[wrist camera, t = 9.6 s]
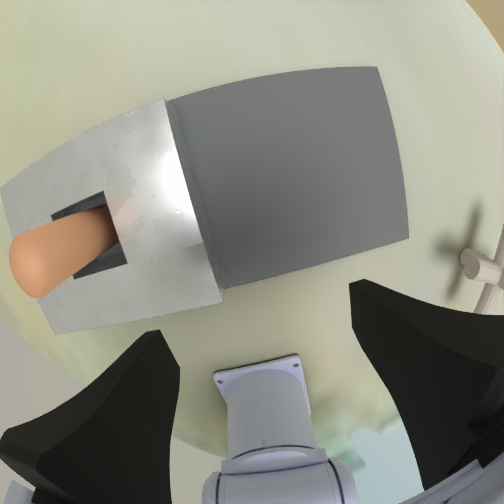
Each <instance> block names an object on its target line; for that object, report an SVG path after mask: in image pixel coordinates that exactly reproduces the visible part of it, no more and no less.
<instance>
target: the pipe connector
mask: <svg viewBox="0 0 504 504" xmlns="http://www.w3.org/2000/svg"><path fill="white" fill-rule="evenodd" d="M460 263H461V264H462V265H464V266H465V267H464V272H465V275H466V277H467V278H468V279H472V280H477V281H481V282H486V283H485V286H484V288H483V291H482V293H481V296H480V298H479V301H478V303H477V305H476V308H475V310H474V312H473V313H477V314H485V315H490V314H491V312H492V309H493V307H494V305H495V303H496V300H497V298H498V295H499V293H500V290H501V288H502V289H503V290H504V225H503V229H502V233H501V237H500V240H499V244H498V247H497V251H496V254H495V257H494V260H491V259H489V258H487V257H485V256H483V255H482V254H480V253H478V252H476V251H474V250H472V249H470V248H465V249H463V251H462V252H461V255H460Z"/></svg>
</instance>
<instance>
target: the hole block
mask: <svg viewBox="0 0 504 504" xmlns="http://www.w3.org/2000/svg"><path fill="white" fill-rule="evenodd" d="M0 192H1V197H2V201H3V205H4V209H5V213H6V217H7V220H8V224H9V227H10V231H11V234H12V237H13V240H14V238H15V237H16V236H18V235H20V234H22V233H25V232H27V231H29V230H32V229H34V228H37V227H40V226H42V225H45V224H47V223H50V222H53V221H55V220H58V219H61V218H64V217H66V216H69V215H72V214H75V213H78V212H81V211H82V208H81V204H83V203H85V202H87V201H90V200H92V199H94V198H97V197H99V196H101V195H104V194H105V197H106V201H107V204H108V207H109V210H110V214H111V217H112V220H113V223H114V226H115V229H116V232H117V235H118V238H119V240H120V243H121V246H122V249H123V251H124V252H121V253H117V254H114V255H111V256H108V257H105V258H102V259H99V257H97V258H95V259H94V260H93V261H91V262H90V263H88V264H87V265H86V266H84V267H83V268H81V269H80V270H79V271H77V272H76V273H75V274H73V275H72V276H71V277H69V278H68V279H67V280H65V281H64V282H63V283H61V284H60V285H59V286H57V287H56V288H55V289H54V290H52V291H51V292H50V293H49V294H47V295H46V296H45V297H43V298H37V300H38V302H39V304H40V306H41V309H42V311H43V312H44V314H45V316H46V318H47V320H48V322H49V324H50V326H51V328H52V329H53V331H54V333H55V335H57V334H64V333H70V332H76V331H82V330H88V329H94V328H100V327H105V326H111V325H116V324H122V323H127V322H132V321H138V320H143V319H148V318H153V317H157V316H162V315H167V314H172V313H177V312H181V311H186V310H190V309H195V308H199V307H204V306H208V305H212V304H217V303H221V302H223V294H224V282H225V274H224V270H223V267H222V264H221V261H220V258H219V254H218V251H217V248H216V244H215V241H214V238H213V234H212V231H211V228H210V224H209V221H208V218H207V214H206V211H205V207H204V204H203V200H202V197H201V193H200V190H199V186H198V183H197V179H196V175H195V172H194V168H193V165H192V161H191V157H190V153H189V150H188V146H187V142H186V138H185V135H184V131H183V127H182V123H181V119H180V115H179V111H177V110H176V109H175V108H174V107H173V106H172V105H171V104H170V103H168V102H167V101H166V100H165V99H164V98H163V99H160V100H157V101H154V102H152V103H149V104H147V105H144V106H141V107H139V108H137V109H134V110H132V111H129V112H127V113H125V114H122V115H120V116H118V117H116V118H114V119H111V120H109V121H107V122H105V123H103V124H101V125H99V126H97V127H95V128H93V129H91V130H89V131H87V132H85V133H83V134H81V135H80V136H78V137H76V138H74V139H72V140H71V141H69V142H67V143H65V144H64V145H62V146H60V147H59V148H57V149H55V150H54V151H52V152H50V153H49V154H47V155H46V156H44V157H42V158H41V159H39V160H38V161H36V162H35V163H33V164H32V165H31V166H29V167H28V168H26V169H25V170H23V171H22V172H21V173H19V174H18V175H17V176H15V177H14V178H12V179H11V180H10V181H9V182H7V183H6V184H5V185H3V186H2V187H1V188H0Z"/></svg>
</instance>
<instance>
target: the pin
mask: <svg viewBox="0 0 504 504" xmlns="http://www.w3.org/2000/svg"><path fill="white" fill-rule="evenodd" d="M119 242H120V240H119V238H118V235H117V232H116V229H115V226H114V223H113V220H112V217H111V214H110V210H109V207H108V204H107V203H106V204H102V205H99V206H96V207H93V208H90V209H87V210H84V211H81V212H78V213H75V214H72V215H69V216H66V217H64V218H61V219H58V220H55V221H53V222H50V223H47V224H45V225H42V226H40V227H37V228H34V229H32V230H29V231H27V232H25V233H22V234H20V235H18V236H16V237H15V238H14V240H13V241H12V243H11V246H10V251H9V260H10V267H11V270H12V273H13V276H14V278H15V280H16V282H17V283H18V285H19V286H20V288H21V289H22V290H23V291H24V292H25V293H26V294H28V295H29V296H31V297H34V298H43V297H45V296H46V295H47V294H49V293H50V292H51V291H52V290H54V289H55V288H56V287H57V286H59V285H60V284H61V283H63V282H64V281H65V280H67V279H68V278H69V277H71V276H72V275H73V274H75V273H76V272H77V271H79V270H80V269H81V268H83V267H84V266H86V265H87V264H88V263H90V262H91V261H93V260H94V259H95V258H97V257H98V256H100V255H101V254H102V253H104V252H105V251H107V250H108V249H110V248H111V247H113V246H114V245H116V244H117V243H119Z"/></svg>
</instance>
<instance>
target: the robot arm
mask: <svg viewBox="0 0 504 504" xmlns="http://www.w3.org/2000/svg"><path fill="white" fill-rule="evenodd" d="M349 291H350V303H351V318H352V328H353V331H354V333H355V335H356V337H357V339H358V341H359V344H360V346H361V348H362V349H363V351H364V353H365V354H366V356H367V357H368V359H369V360H370V362H371V364H372V365H373V367H374V368H375V370H376V371H377V373H378V375H379V376H380V378H381V379H382V381H383V382H384V384H385V386H386V387H387V389H388V391H389V392H390V394H391V396H392V398H393V400H394V402H395V405H396V407H397V409H398V411H399V414H400V416H401V418H402V421H403V423H404V426H405V428H406V431H407V434H408V436H409V439H410V442H411V445H412V448H413V451H414V454H415V458H416V461H417V465H418V469H419V472H420V476H421V481H422V485H423V488H424V490H425V491H424V492H422V493H420V494H418V495H417V496H414V497H412V498H410V499H408V500H406V501H404V502H402V503H399V504H442V503H443V504H504V315H485V314H477V313H469V312H463V311H457V310H453V309H449V308H444V307H440V306H436V305H433V304H430V303H427V302H424V301H421V300H417V299H415V298H412V297H409V296H407V295H404V294H401V293H399V292H396V291H394V290H391V289H389V288H386V287H384V286H382V285H379V284H377V283H374V282H371V281H369V280H366V279H362V280H359V281H355V282H352V283H349ZM296 363H297V364H296ZM294 364H296V365H294ZM213 379H214V381H215V383H216V385H217V387H218V389H219V391H220V393H221V395H222V397H223V399H224V401H225V402H226V404H227V460H223V461H222V472H213V473H212V474H211V475H210V477H209V478H208V479H207V480H206V481H205V483H204V486H203V492H202V504H358V495H357V489H356V485H355V481H354V478H353V475H352V473H351V471H350V469H349V467H348V466H347V464H346V463H344V462H343V461H341V460H340V459H339V458H337V457H332V458H327V454H326V451H325V448H319V446H318V443H317V439H316V435H315V432H314V428H313V425H312V421H311V417H310V414H311V410H310V404H309V399H308V394H307V389H306V384H305V379H304V374H303V369H302V364H301V359H300V357H299V356H298V355H293V356H289V357H285V358H281V359H277V360H273V361H269V362H265V363H260V364H256V365H251V366H246V367H242V368H237V369H231V370H226V371H221V372H216V373H214V375H213ZM219 380H222V381H219ZM179 384H180V367H179V365H178V363H177V361H176V360H175V358H174V356H173V354H172V352H171V350H170V348H169V347H168V345H167V343H166V341H165V339H164V337H163V335H162V333H161V331H160V330H154V331H149V332H146V333H144V334H143V335H142V336H141V337H139V338H138V339H137V340H136V341H135V342H134V343H133V344H132V345H131V346H130V347H129V348H128V349H127V350H126V351H125V352H124V353H123V354H122V355H121V356H120V357H119V358H118V359H117V360H116V361H115V362H114V363H113V364H112V365H111V366H109V367H108V368H107V369H106V370H105V371H104V372H103V373H102V374H101V375H100V376H99V377H98V378H97V379H95V380H94V381H93V382H92V383H91V384H90V385H88V386H87V387H86V388H85V389H83V390H82V391H81V392H79V393H78V394H77V395H75V396H74V397H73V398H71V399H69V400H68V401H66V402H65V403H63V404H62V405H60V406H58V407H57V408H55V409H53V410H52V411H50V412H48V413H46V414H44V415H42V416H40V417H38V418H36V419H34V420H32V421H29V422H26V423H23V424H21V425H18V426H15V427H12V428H9V429H7V430H6V431H5V432H4V434H3V436H2V437H1V439H0V459H1V460H2V461H3V462H4V463H5V464H7V465H8V466H9V467H10V468H11V469H12V470H14V471H15V472H16V473H17V474H19V475H20V476H21V477H23V478H24V479H25V480H26V481H28V482H29V483H30V484H32V485H33V486H35V487H36V489H35V492H33V491H31V490H30V489H28V488H26V487H24V486H23V485H21V484H19V483H17V482H15V481H13V480H12V481H11V483H10V486H9V489H8V491H7V494H6V497H5V499H4V502H3V504H172V500H171V491H170V473H169V472H170V468H169V461H170V440H171V433H172V427H173V422H174V416H175V411H176V405H177V400H178V394H179Z"/></svg>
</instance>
